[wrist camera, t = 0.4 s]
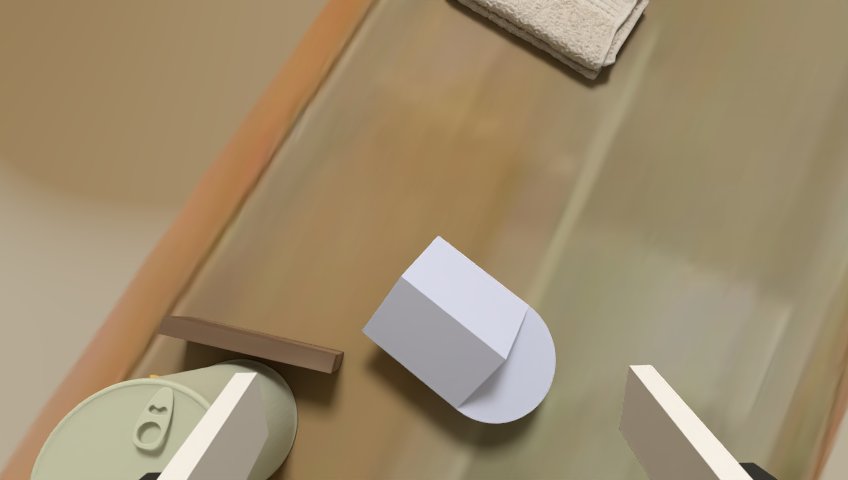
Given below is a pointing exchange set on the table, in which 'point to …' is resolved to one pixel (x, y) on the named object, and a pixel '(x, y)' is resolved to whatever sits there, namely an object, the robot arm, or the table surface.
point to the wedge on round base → (466, 336)
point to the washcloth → (567, 27)
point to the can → (159, 425)
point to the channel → (251, 343)
